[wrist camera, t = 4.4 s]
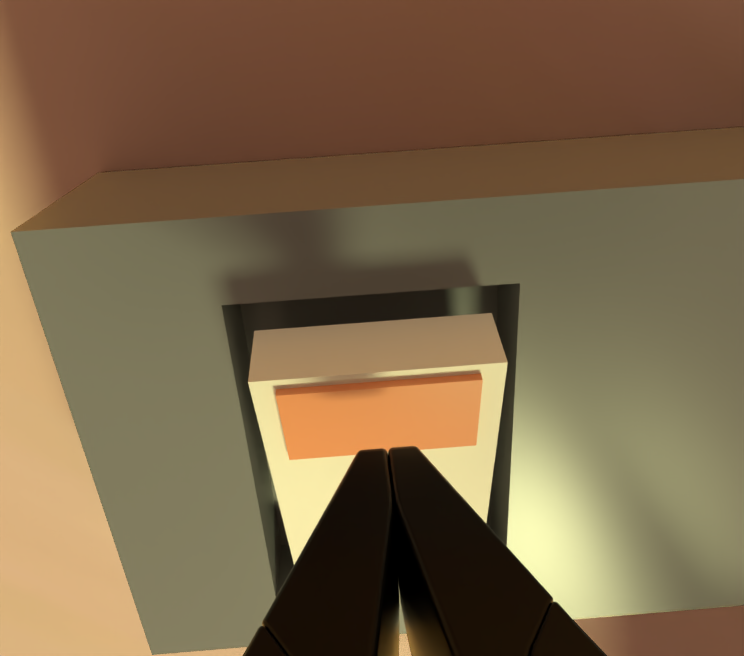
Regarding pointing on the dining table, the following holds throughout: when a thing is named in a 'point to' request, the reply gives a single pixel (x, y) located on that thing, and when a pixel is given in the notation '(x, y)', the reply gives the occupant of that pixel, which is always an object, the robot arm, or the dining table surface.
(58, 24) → the dining table surface
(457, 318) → the rocker
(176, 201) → the grey rocker switch panel
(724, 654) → the dining table surface
